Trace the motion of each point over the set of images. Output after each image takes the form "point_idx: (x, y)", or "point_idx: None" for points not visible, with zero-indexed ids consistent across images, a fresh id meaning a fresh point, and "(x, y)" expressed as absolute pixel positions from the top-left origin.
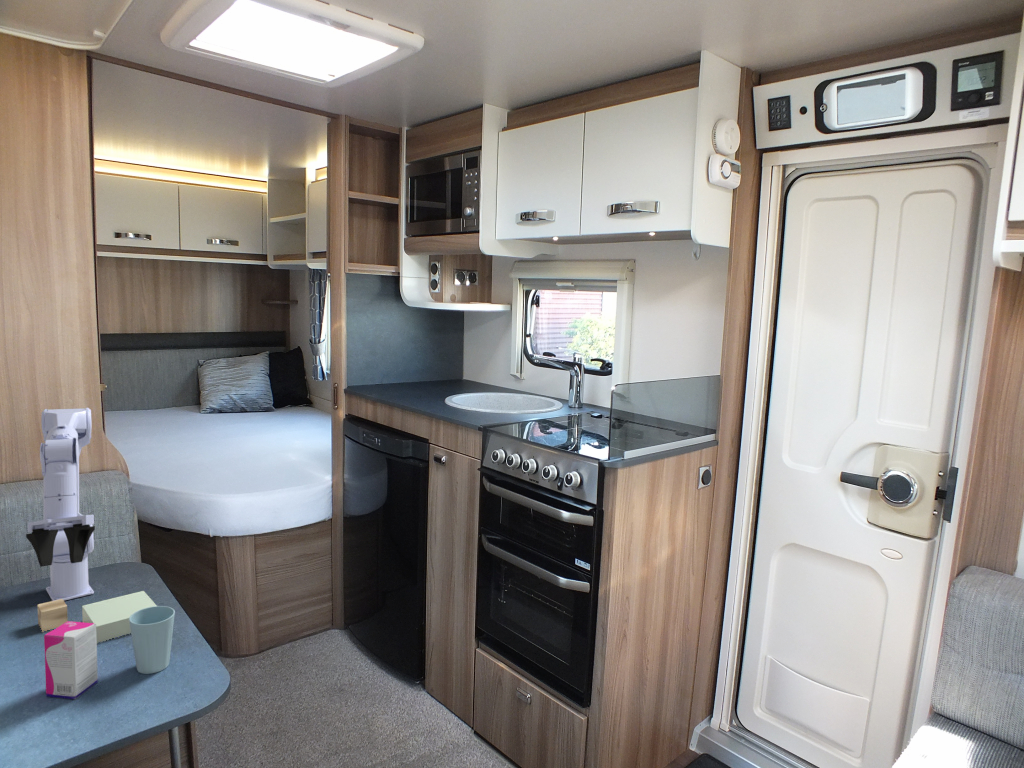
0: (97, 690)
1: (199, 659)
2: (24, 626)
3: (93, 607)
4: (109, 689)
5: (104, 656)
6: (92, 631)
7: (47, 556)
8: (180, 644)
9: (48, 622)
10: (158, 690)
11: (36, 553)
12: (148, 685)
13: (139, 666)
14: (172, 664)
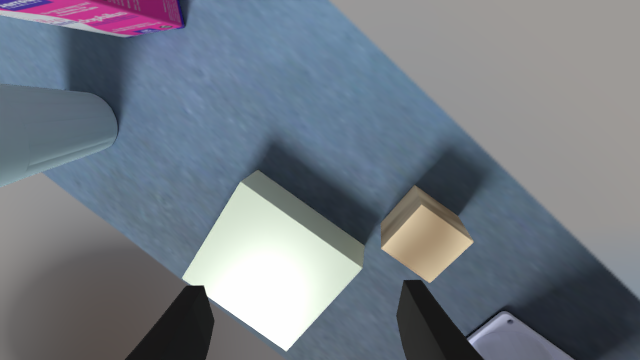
0: None
1: None
2: (484, 200)
3: (327, 264)
4: None
5: (200, 128)
6: None
7: (415, 351)
8: (117, 202)
9: (407, 202)
10: (20, 51)
11: (469, 348)
12: (46, 60)
13: (77, 91)
14: None
